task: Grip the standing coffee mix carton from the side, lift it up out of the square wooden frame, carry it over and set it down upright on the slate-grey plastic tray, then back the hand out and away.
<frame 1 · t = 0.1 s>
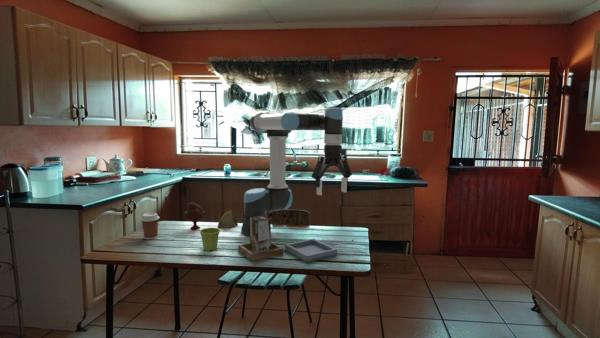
hand: (331, 193, 157), 28 cm above the table, tool pointing down, fingers open, 13 cm apart
coffee box: (260, 253, 162), resting in square wooden frame
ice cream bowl: (195, 228, 201), on the table
plant pot: (210, 249, 168), on the table
rock: (227, 226, 206), on the table
coffee cup: (150, 237, 185), on the table
tray: (310, 253, 162), on the table
square wooden frame: (260, 253, 162), on the table
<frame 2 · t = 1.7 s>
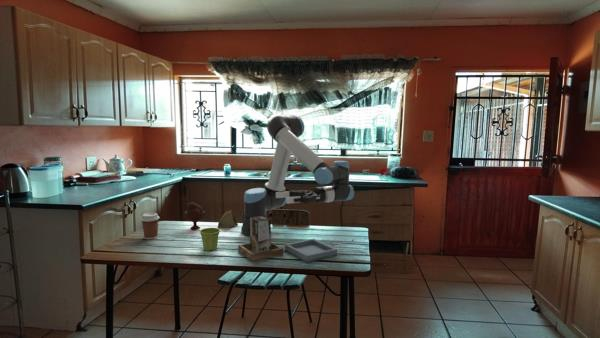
hand: (280, 197, 163), 25 cm above the table, tool horizontal, fingers open, 13 cm apart
nothing on the table moved.
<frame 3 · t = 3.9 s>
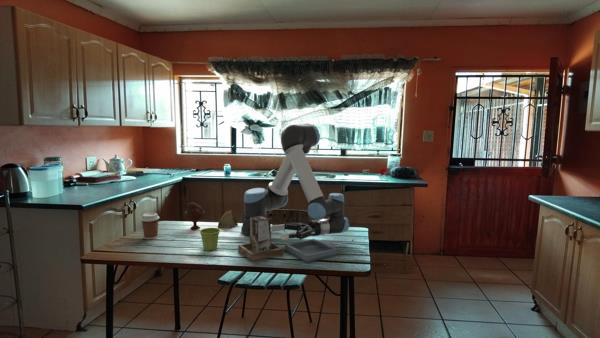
hand: (276, 232, 163), 9 cm above the table, tool horizontal, fingers open, 13 cm apart
nothing on the table moved.
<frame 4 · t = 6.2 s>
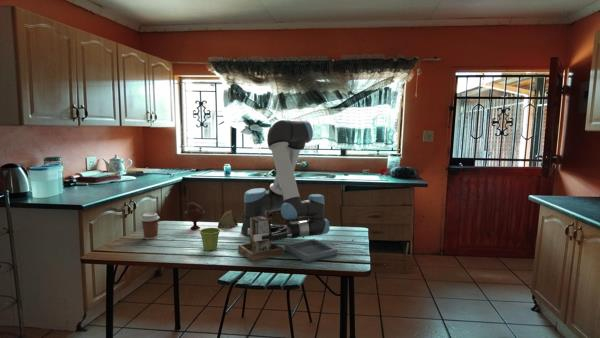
hand: (250, 234, 159), 9 cm above the table, tool horizontal, fingers closed on coffee box, 10 cm apart
coffee box: (260, 253, 162), resting in square wooden frame, touching gripper
everything else where it was.
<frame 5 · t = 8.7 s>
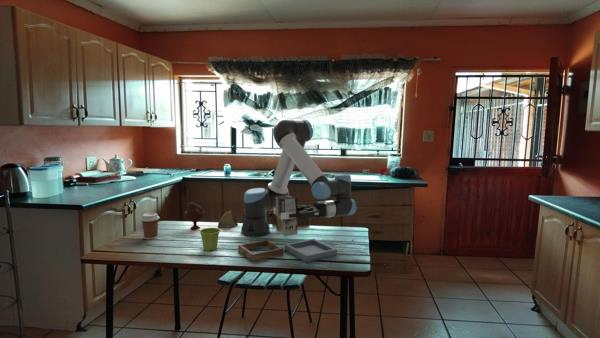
hand: (277, 213, 157), 19 cm above the table, tool horizontal, fingers closed on coffee box, 9 cm apart
coffee box: (286, 233, 159), point 10 cm above the table, touching gripper
everything else where it was.
when the fingers open (11 cm above the table, at t = 11.4 s): coffee box drops 1 cm, resting on tray.
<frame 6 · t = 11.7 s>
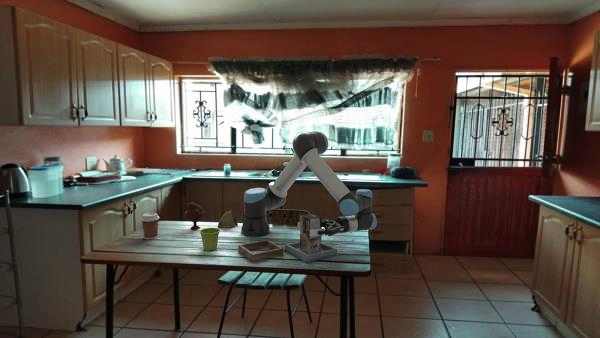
hand: (303, 229, 160), 11 cm above the table, tool horizontal, fingers open, 13 cm apart
coffee box: (310, 251, 162), point 1 cm above the table, touching tray
everything else where it was.
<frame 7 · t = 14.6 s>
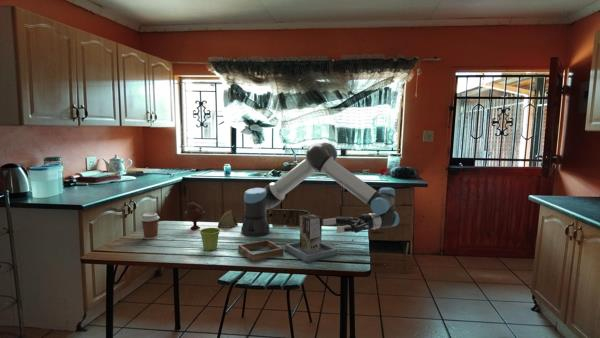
hand: (330, 226, 165), 12 cm above the table, tool horizontal, fingers open, 13 cm apart
nothing on the table moved.
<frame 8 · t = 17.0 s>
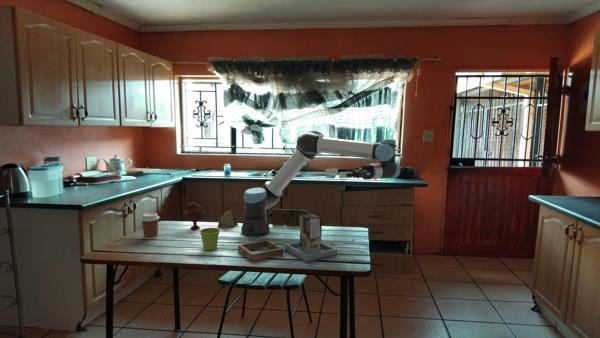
hand: (332, 173, 168), 35 cm above the table, tool horizontal, fingers open, 13 cm apart
nothing on the table moved.
at the end: coffee box inside the target area on the tray (0.1 cm from its centre), point 0.8 cm above the tray's base; coffee box tilted 0°; the gripper is holding nothing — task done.
